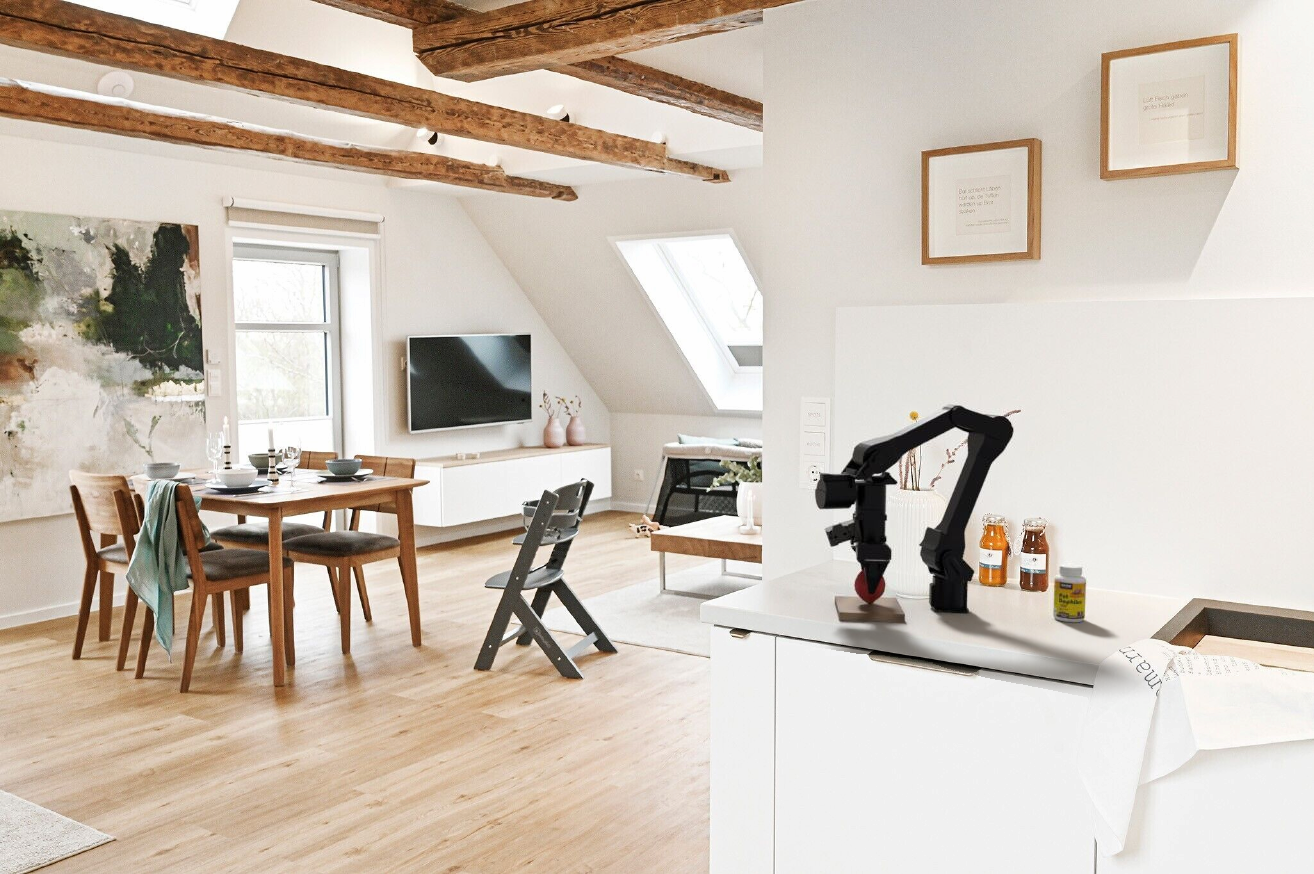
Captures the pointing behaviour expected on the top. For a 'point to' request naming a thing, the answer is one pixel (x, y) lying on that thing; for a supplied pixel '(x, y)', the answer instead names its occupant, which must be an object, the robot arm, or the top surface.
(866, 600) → the onion
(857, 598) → the walnut board
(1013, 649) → the top surface
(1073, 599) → the supplement bottle
